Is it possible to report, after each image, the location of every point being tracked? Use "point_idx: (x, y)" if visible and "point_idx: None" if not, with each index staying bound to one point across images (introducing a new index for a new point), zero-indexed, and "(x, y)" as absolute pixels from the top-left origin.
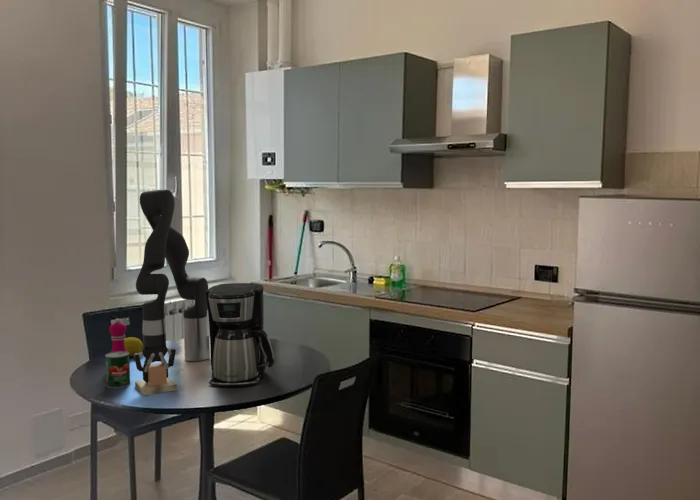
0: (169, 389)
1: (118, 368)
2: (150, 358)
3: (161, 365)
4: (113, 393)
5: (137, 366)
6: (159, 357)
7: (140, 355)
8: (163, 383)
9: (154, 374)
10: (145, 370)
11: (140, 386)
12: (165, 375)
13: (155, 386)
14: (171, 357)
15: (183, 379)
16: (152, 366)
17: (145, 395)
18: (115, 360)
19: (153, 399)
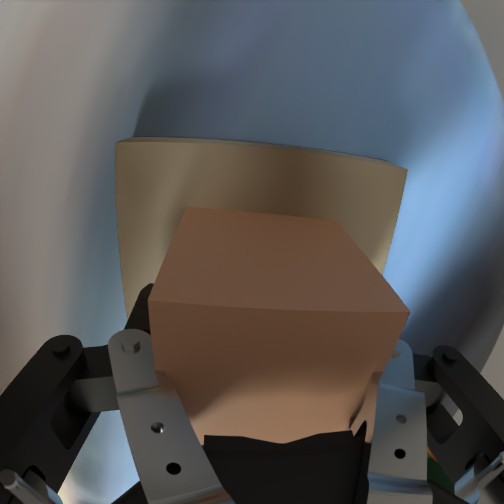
0: (190, 138)
1: (429, 454)
2: (410, 470)
3: (196, 380)
4: (453, 313)
5: (440, 412)
6: (224, 492)
7: (493, 496)
8: (216, 211)
9: (322, 265)
10: (401, 347)
11: (383, 268)
12: (184, 239)
13: (300, 192)
14: (26, 427)
15: (54, 329)
16: (313, 395)
17: (377, 159)
18: (454, 489)
19: (368, 39)
